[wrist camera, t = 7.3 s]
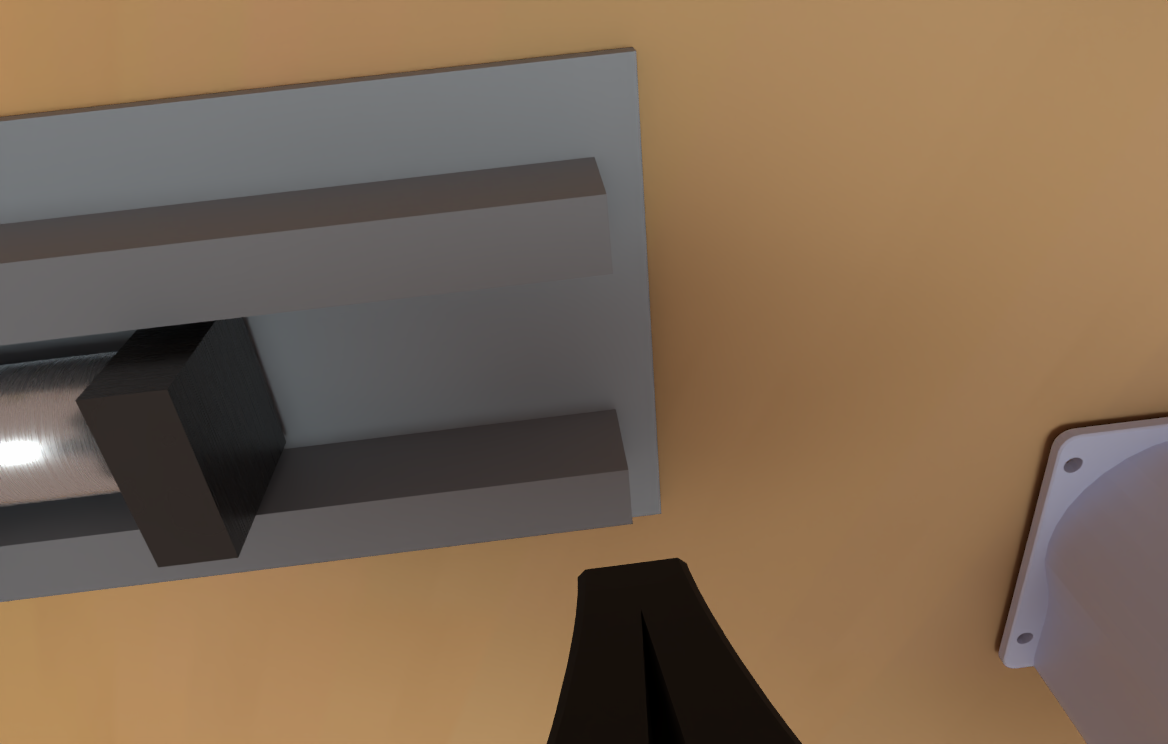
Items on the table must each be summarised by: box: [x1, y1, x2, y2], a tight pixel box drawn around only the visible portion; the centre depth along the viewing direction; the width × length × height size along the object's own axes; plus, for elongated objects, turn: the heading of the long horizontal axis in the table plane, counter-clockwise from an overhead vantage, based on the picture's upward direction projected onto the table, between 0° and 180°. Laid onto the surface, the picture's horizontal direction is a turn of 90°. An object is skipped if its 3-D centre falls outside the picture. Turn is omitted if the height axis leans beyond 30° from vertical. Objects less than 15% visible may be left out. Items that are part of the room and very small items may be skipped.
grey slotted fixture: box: [0, 47, 661, 602], centre depth 16 cm, size 12×24×7 cm, turn 95°
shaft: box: [0, 317, 286, 568], centre depth 17 cm, size 4×10×4 cm, turn 95°
